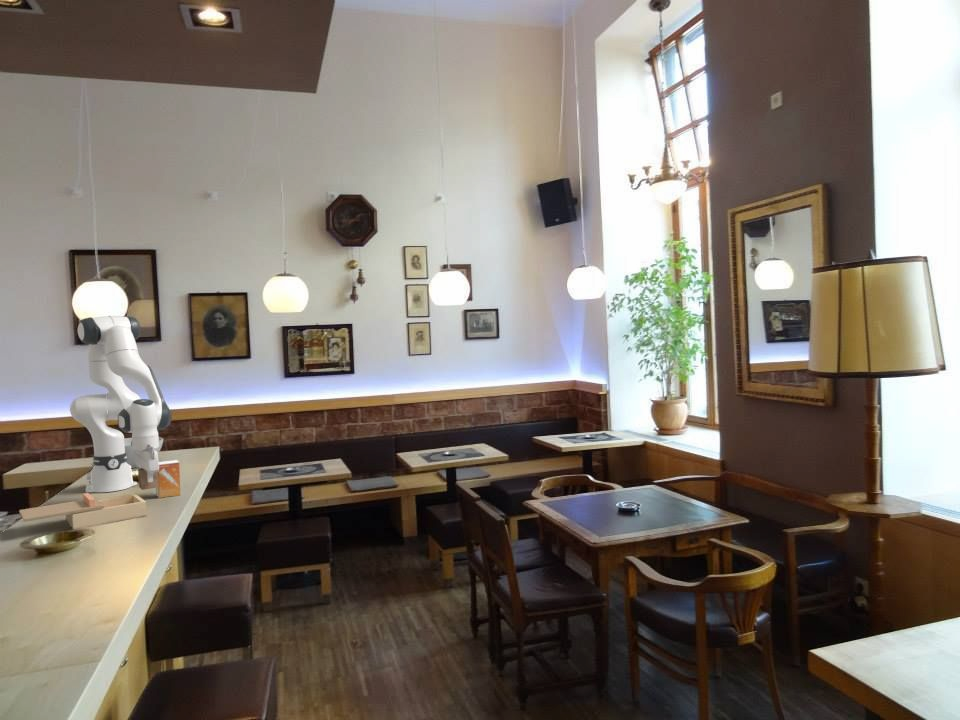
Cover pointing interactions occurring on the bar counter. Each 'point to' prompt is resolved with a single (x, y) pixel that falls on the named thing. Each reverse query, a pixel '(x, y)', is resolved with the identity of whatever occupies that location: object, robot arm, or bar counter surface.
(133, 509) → the open wooden box
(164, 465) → the small box
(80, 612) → the bar counter surface
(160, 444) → the decorative bowl
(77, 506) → the lid
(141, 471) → the walnut block
